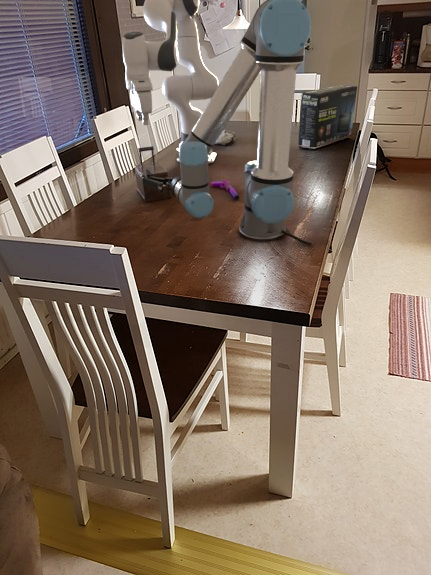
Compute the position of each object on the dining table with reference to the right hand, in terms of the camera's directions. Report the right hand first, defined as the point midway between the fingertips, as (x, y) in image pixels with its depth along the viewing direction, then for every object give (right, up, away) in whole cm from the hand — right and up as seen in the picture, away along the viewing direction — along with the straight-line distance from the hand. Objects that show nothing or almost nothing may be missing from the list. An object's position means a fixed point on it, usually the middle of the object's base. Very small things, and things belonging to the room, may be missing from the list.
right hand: (166, 170), depth 154 cm
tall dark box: (-9, +7, +26) cm, 28 cm away
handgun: (+20, -1, +30) cm, 37 cm away
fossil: (+18, +42, +101) cm, 110 cm away
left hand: (-11, +24, +20) cm, 33 cm away
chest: (-9, -2, +31) cm, 32 cm away
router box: (+75, +38, +90) cm, 123 cm away
